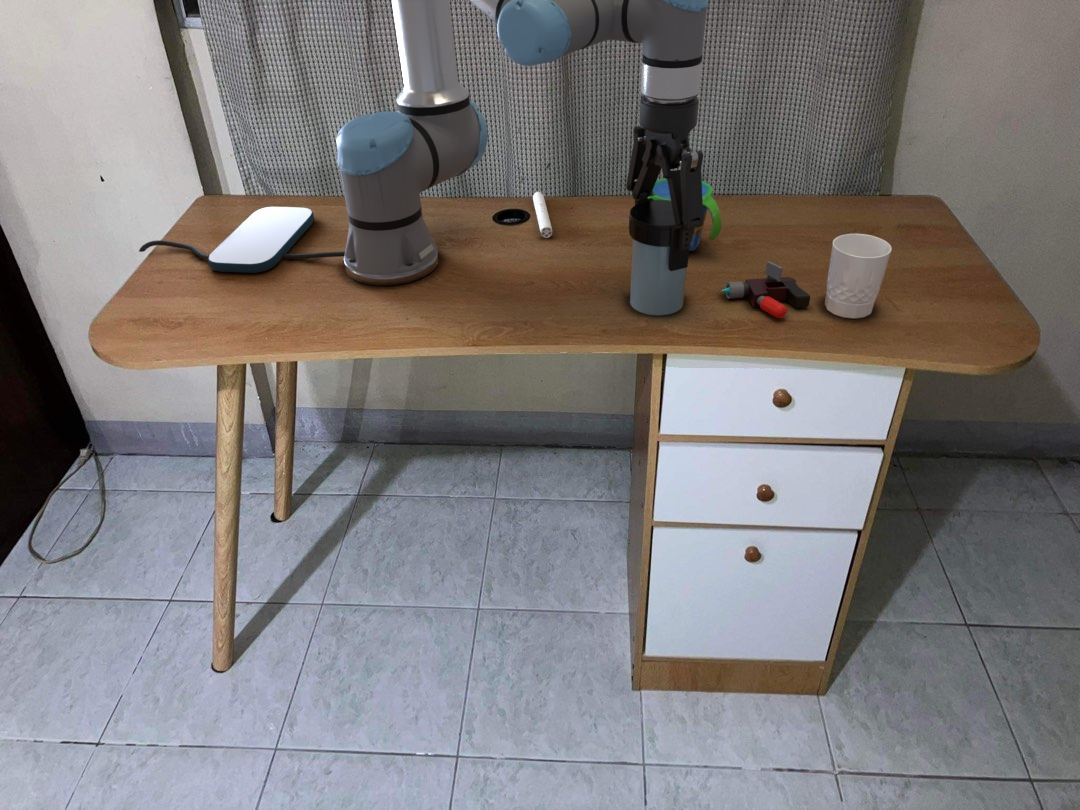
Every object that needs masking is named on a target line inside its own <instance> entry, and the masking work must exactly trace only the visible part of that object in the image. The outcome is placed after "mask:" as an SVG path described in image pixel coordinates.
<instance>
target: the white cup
mask: <svg viewBox="0 0 1080 810" xmlns="http://www.w3.org/2000/svg"><path fill="white" fill-rule="evenodd" d="M892 250H893V248H892V245H891V244H890V243H889V242H888V241H886V239H885V240H884V239H883V238H881V237H878V236H875V235H871V234H867V233H845V234H841V235H839V236H835V238H834V239H832V244H831V250H830V251H831V252H830V256H829V257H830V259H829V264H828V272H827V281H826V293H825V298H824V306H825V308H826V310H827V311H828V312H830V313H831V314H832V315H835V316H838V317H841V318H846V319H862V318H866V317H868V316H870V315H871V314H872V312H873V309H874V307H875V303H876V299H877V297H878V296H879V294H880V289H881V286H882V284H883V281H884V278H885V274H886V270H887V267H888V263H889V260H890V257H891V255H892Z"/></svg>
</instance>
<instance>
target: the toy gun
mask: <svg viewBox="0 0 1080 810" xmlns="http://www.w3.org/2000/svg"><path fill="white" fill-rule="evenodd" d="M782 273H783V267H782V266H780V265H778V264H776V263H774V262H772V261H771V260H768V261H766V267H765V275H766V277H765V278H762V277H761V278H748V279H747V278H746V279H745V281H744V282H743V281H742V280H741V281H727V282H726V284H725V288H724V289H722V290H720V291H721V292H725V295H726V298H727V299H728V300H729V299H731V300H732V299H743V298H744V297H746V298H747V299H748V301H749V303H750V304H751V306H752V307H753V309H754V308H758V307H760V309H761V310H763V311H764V312H766V313H768V314H770V315H771V316H773V317H774V318H777V319H782V318H783V317H785V316H786V315H787V311H788V309H787V307H786V305H785V304H783V303H781V302H782V301H787V302H788V303H789V304H791V305H792V306H793V307H795V308H808V307H809V306H810V302H811V295H810V294H809V293H808V292H806V291H805V290H804V289H802V287H800V286H799V285H798V284H797V281H796V279H795V277H794V278H793V277H790V276H782V275H783V274H782Z"/></svg>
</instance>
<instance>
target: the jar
mask: <svg viewBox="0 0 1080 810" xmlns="http://www.w3.org/2000/svg"><path fill="white" fill-rule="evenodd" d="M669 251H670V246H651V245H646V244H643V243H640V242H637V241H636V240H634V239H633V238H632V246H631V266H630V267H631V268H630V292H629V304H630V306H631V307H632V308H633V309H634V310H635V311H637V312H639V313H641V314H645V315H648V316H649V315H650V316H667V315H671V314H674V313H676V312H678V311H680V310H681V309H682V308H683V306H684V301H685V291H686V290H685V288H686V278H687V268H683V269H679V270H675V271H670V270H669V269H668V265H669Z"/></svg>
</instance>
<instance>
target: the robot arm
mask: <svg viewBox="0 0 1080 810" xmlns="http://www.w3.org/2000/svg"><path fill="white" fill-rule="evenodd" d="M469 2H470V3H472V4H473V5H474V6H475V7H476V8H477V9H479V10H480V11H481V12H482V13H483V14H485V16H487V17H488V18H489V19H490V20H492V21H493V22H494V23H495V24H496V30H497V31H496V32H497V38H498V41H499V44H501V46H502V48H503V50H504V53H505V55H506V56H507V57H508V58H509V59H510V60H511V61H513V62H514V63H515V64H518V65H520V66H524V67H533V66H537V65H543V64H546V63H548V64H549V63H552V62H555V61H557V60H558V59H560V58H562V57H564V56H566V55H569V54H572V53H575V52H578V51H580V50H584V49H587V48H589V47H591V46H595V45H597V44H601V43H603V42H605V41H618V42H626V43H632V44H642V61H641V77H640V79H641V80H640V93H641V95H643V96H641V98H640V101H639V102H640V106H639V125H637V126H634V127H633V129H632V131H633V132H632V133H633V144H632V148H631V149H632V152H631V156H630V162H629V168H628V172H627V180H626V185H625V186H626V187H625V188H626V190H627V191H628V192H631V193H632V194H631V195H632V196H631V197H632V199H633V200H634V206H635V205H637V204H639V203H642V202H646V201H652V200H654V199H652V198H649V199H648V197H650V196H654V195H655V194H654V192H653V188H654V186H655V183H656V181H658V178H659V176H660V173H661V171H662V176H663V179H665V178H666V179H667V181H668V187H669V192H670V198H671V203H672V208H673V214H674V219H675V225H674V226H671V237H670V251H669V265H668V269H669V270H670V271H675V270H679V269H683V268H686V269H687V268H688V267H689V265H688V264H689V254H690V252H689V248H690V245H691V234H692V228H695V227H699V226H702V225H703V200H702V181H703V178H702V167H703V161H704V152H703V150H696V151H694V150H693V149H692V148H691V145H690V139H689V136H690V135H689V134H690V133H691V131H692V130H693V129H694V128H696V126H697V124H698V117H699V104H700V99H699V98H698V97H697V95H698V94H699V93H700V87H701V74H702V62H703V50H704V49H703V48H704V38H705V31H706V29H705V28H706V20H707V11H708V10H707V9H708V7H709V0H469ZM391 5H392V6H391V7H392V12H393V20H394V26H395V32H396V40H397V47H398V53H399V61H400V67H401V74H402V81H403V87H402V90H401V91H400V92H399V94H398V95H397V97H396V106H397V111H394V110H393V111H391V110H385V111H376V112H374V113H366V114H363V115H360V116H358V117H355V118H353V119H351V120H350V121H348V122H347V123H345V124H344V125H343V126H342V127H341V128H340V129H339V131H338V133H337V135H336V141H335V142H336V151H337V156H336V160H337V161H336V162H337V166H338V167H339V171H340V176H341V184H342V189H343V194H344V195H343V196H344V200H345V206H346V213H347V215H348V216H347V217H348V232H347V237H346V238H347V239H346V245H345V250H342V251H341V250H340V251H325V252H324V251H323V252H309V253H286V254H283V257H282V258H281V260H283V259H284V260H304V259H305V260H306V259H320V258H336V257H337V258H338V257H339V258H340V257H343V261H344V267H345V272H346V274H347V275H348V277H350V278H351V279H352V280H354V281H356V282H359V283H361V284H366V285H370V286H372V285H373V286H395V285H402V284H407V283H412V282H414V281H417V280H420V279H422V278H425V277H426V276H428V275H429V274H431V273H432V272H433V271H434V270H435V269H436V268H437V266H438V264H439V252H438V251H439V250H438V247H437V245H436V243H435V241H434V239H433V236H432V234H431V232H430V230H429V228H428V226H427V224H426V222H425V219H424V218H423V210H422V202H421V193H422V192H424V191H426V190H428V189H431V188H433V187H435V186H437V185H439V184H441V183H444V182H446V181H448V180H450V179H452V178H453V179H454V178H456V177H460V176H461V175H463V174H465V173H466V172H468V170H470V169H471V168H473V167H475V166H476V165H478V163H479V162H480V161H481V159H482V158H483V157H484V155H485V152H486V150H487V146H488V127H487V126H488V125H487V122H486V119H485V117H484V114H483V113H480V108H479V107H478V105H477V104H476V103H475V102H474V101H473V100H471V98H470V92H469V90H468V89H466V88H465V87H464V86H463V85H462V84H461V83H460V82H459V77H458V69H457V68H458V67H457V60H456V51H455V50H456V49H455V43H454V41H455V40H454V32H453V24H452V23H453V22H452V15H451V14H452V13H451V4H450V0H391ZM678 168H680V169H678ZM682 217H683V219H682ZM155 246H164V247H165V246H167V247H172V248H177V249H183V250H188V251H191V252H193V253H194V254H196V255H197V256H198V257H200V259H203V260H206V261H208V258H209V255H210V254H206V253H204V252H202V251H201V250H200V249H198V248H197V247H196V246H194V245H191V244H187V243H181V242H175V241H170V240H161V239H160V240H158V239H157V240H151V241H147V242H146V243H144V244H143V245H142V246H140V248H139V250H138V252H139V253H142V252H143V253H144V252H145V251H147V250H148V249H149V248H151V247H155Z"/></svg>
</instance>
